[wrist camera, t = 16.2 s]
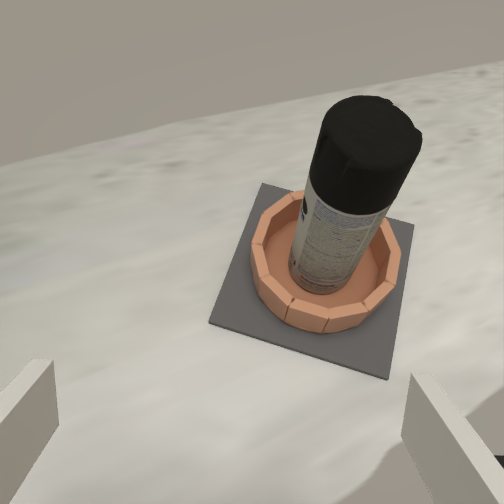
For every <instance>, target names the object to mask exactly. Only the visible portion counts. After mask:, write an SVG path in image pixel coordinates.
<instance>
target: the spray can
mask: <svg viewBox="0 0 504 504" xmlns="http://www.w3.org/2000/svg"><path fill="white" fill-rule="evenodd" d="M421 145H422V133H421V132H420V131H419V130H418V129H416V128H415V127H414V125H413V123H412V121H411V119H410V118H409V117H408V116H407V115H406V114H405V113H404V112H403V111H401V110H400V109H399V108H398V107H396V106H394V105H393V103H392V102H391V101H390V100H388V99H384V98H381V97H379V96H363V95H359V96H352V97H349V98H346V99H343V100H341V101H339V102H337V103H336V104H335V105H333V106H332V107H331V108H330V109H329V110H328V111H327V113H326V115H325V117H324V119H323V121H322V125H321V129H320V133H319V137H318V140H317V144H316V148H315V152H314V155H313V159H312V162H311V166H310V171H309V175H308V179H307V183H306V187H305V191H304V196H303V200H302V204H301V208H300V212H299V217H298V221H297V225H296V229H295V234H294V238H293V242H292V246H291V250H290V255H289V262H288V266H289V270H290V274H291V276H292V278H293V280H294V281H295V282H296V283H297V284H298V285H299V286H300V287H301V288H302V289H304V290H305V291H308V292H310V293H314V294H320V295H323V294H330V293H333V292H336V291H338V290H339V289H341V288H342V287H343V286H345V285H346V284H347V282H348V281H349V279H350V278H351V276H352V274H353V272H354V271H355V269H356V267H357V265H358V264H359V262H360V260H361V258H362V256H363V255H364V253H365V251H366V249H367V247H368V246H369V244H370V242H371V240H372V238H373V237H374V235H375V233H376V231H377V230H378V228H379V226H380V224H381V222H382V221H383V219H384V217H385V215H386V213H387V212H388V210H389V208H390V206H391V205H392V203H393V201H394V200H395V198H396V197H397V194H398V192H399V190H400V188H401V186H402V184H403V182H404V180H405V179H406V177H407V175H408V173H409V171H410V169H411V167H412V165H413V163H414V161H415V160H416V158H417V156H418V154H419V152H420V149H421Z"/></svg>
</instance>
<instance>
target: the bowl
mask: <svg viewBox="0 0 504 504" xmlns="http://www.w3.org/2000/svg"><path fill="white" fill-rule="evenodd" d="M304 191H305V190H303V191H296V192H290V194H289V193H288V194H287V195H285V196H284V197H283V198H281V199H280V200H279V201H277V202H276V203H275V204H273V205H272V206H271V207H269V208H268V209H267V210H265V211H264V212H263V213H262V216H261V218H260V221H259V224H258V226H257V229H256V232H255V234H254V237H253V240H252V242H251V258H250V264H251V268H252V275H253V281H254V284H255V288H256V290H257V293H258V296H259V297H260V298H261V300H262V301H263V303H264V305H265V306H266V307H267V308H268V309H269V310H270V311H271V312H272V313H273V314H274V315H275V316H276V317H277V318H279V319H280V320H281V321H283V322H284V323H286V324H288V325H290V326H292V327H294V328H297V329H299V330H302V331H306V332H310V333H318V334H330V333H338V332H342V331H345V330H348V329H350V328H353V327H356V326H358V325H360V324H361V323H362V322H363V321H364V320H365V319H367V318H368V317H369V316H370V315H371V313H372V312H373V311H374V310H375V309H376V308H377V307H378V306H379V305H380V304H382V302H383V301H384V300H385V299H386V297H387V296H388V295H389V293H390V292H391V291H392V290H393V288H394V287H395V285H396V280H397V275H398V269H399V263H400V258H401V250H400V247H399V245H398V243H397V240H396V238H395V236H394V233H393V231H392V229H391V226H390V224H389V222H388V220H387V219H386V218H385V217H384V219H383V221H382V222H381V224H380V226H379V228H378V230H377V231H376V233H375V235H374V237H373V238H372V240H371V242H370V244H369V246H368V247H367V249H366V251H365V253H364V255H363V256H362V258H361V260H360V262H359V264H358V265H357V267H356V269H355V271H354V272H353V274H352V276H351V278H350V279H349V281H348V282H347V284H346V285H345V286H343V287H342V288H341V289H339V290H338V291H336V292H333V293H330V294H323V295H320V294H314V293H310V292H308V291H305V290H304V289H302V288H301V287H300V286H299V285H298V284H297V283H296V282H295V281H294V280H293V278H292V276H291V274H290V270H289V266H288V262H289V255H290V250H291V246H292V242H293V238H294V234H295V229H296V225H297V221H298V217H299V212H300V208H301V204H302V200H303V196H304ZM386 220H387V221H386Z"/></svg>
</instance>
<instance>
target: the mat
mask: <svg viewBox="0 0 504 504" xmlns="http://www.w3.org/2000/svg"><path fill="white" fill-rule="evenodd" d="M290 192H294V191H290V190H286V189H283V188H279V187H275V186H272V185H268V184H264V183H262V185H261V187H260V190H259V192H258V195H257V197H256V200H255V203H254V205H253V208H252V210H251V213H250V216H249V218H248V221H247V223H246V226H245V228H244V231H243V234H242V236H241V239H240V241H239V244H238V246H237V249H236V252H235V254H234V257H233V259H232V262H231V264H230V267H229V270H228V272H227V275H226V277H225V280H224V283H223V285H222V288H221V290H220V293H219V295H218V298H217V301H216V303H215V306H214V308H213V311H212V313H211V316H210V319H209V323H210V324H213V325H216V326H219V327H222V328H225V329H228V330H231V331H234V332H238V333H241V334H244V335H247V336H250V337H253V338H256V339H259V340H263V341H266V342H269V343H272V344H275V345H278V346H281V347H284V348H287V349H291V350H294V351H297V352H300V353H303V354H306V355H309V356H312V357H316V358H319V359H322V360H325V361H328V362H331V363H334V364H337V365H340V366H344V367H347V368H350V369H353V370H356V371H359V372H362V373H365V374H369V375H372V376H375V377H378V378H381V379H384V380H388V379H389V374H390V368H391V362H392V356H393V350H394V344H395V338H396V332H397V326H398V320H399V314H400V308H401V302H402V296H403V290H404V284H405V278H406V272H407V266H408V260H409V254H410V248H411V242H412V236H413V230H414V224H410V223H407V222H403V221H399V220H396V219H392V218H388V217H385V218H386V219H387V220H388V222H389V224H390V226H391V229H392V231H393V233H394V236H395V238H396V240H397V243H398V245H399V247H400V250H401V258H400V263H399V269H398V275H397V280H396V285H395V287H394V288H393V290H392V291H391V292H390V293H389V295H388V296H387V297H386V299H385V300H384V301H383V302H382V304H380V305H379V306H378V307H377V308H376V309H375V310H374V311H373V312H372V313H371V315H370V316H369V317H368V318H367V319H365V320H364V321H363V322H362V323H361V324H360V325H358V326H356V327H353V328H350V329H348V330H345V331H342V332H338V333H330V334H318V333H310V332H306V331H302V330H299V329H297V328H294V327H292V326H290V325H288V324H286V323H284V322H283V321H281V320H280V319H279V318H277V317H276V316H275V315H274V314H273V313H272V312H271V311H270V310H269V309H268V308H267V307H266V306H265V305H264V303H263V301H262V300H261V298H260V297H259V296H258V293H257V290H256V288H255V284H254V281H253V275H252V268H251V264H250V258H251V242H252V240H253V237H254V234H255V232H256V229H257V226H258V224H259V221H260V218H261V216H262V213H263V212H264V211H265V210H267V209H268V208H269V207H271V206H272V205H273V204H275V203H276V202H277V201H279V200H280V199H281V198H283V197H284V196H285V195H287V194H288V193H289V194H290ZM387 220H386V221H387Z"/></svg>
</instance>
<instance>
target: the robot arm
mask: <svg viewBox="0 0 504 504" xmlns="http://www.w3.org/2000/svg"><path fill="white" fill-rule="evenodd" d="M58 426H59V420H58V408H57V397H56V385H55V373H54V362H53V360H38V359H32V360H31V361H30V362H29V363H28V364H27V365H26V366H25V367H24V368H23V370H22V371H21V372H20V373H19V374H18V375H17V376H16V377H15V378H14V379H13V380H12V381H11V382H10V384H9V385H8V386H7V387H6V388H5V389H4V390H3V391H2V392H1V393H0V504H9V503H10V501H11V500H12V498H13V496H14V495H15V493H16V492H17V490H18V489H19V487H20V485H21V484H22V482H23V481H24V479H25V478H26V476H27V474H28V473H29V471H30V470H31V468H32V467H33V465H34V463H35V462H36V460H37V459H38V457H39V455H40V454H41V452H42V451H43V449H44V448H45V446H46V444H47V443H48V441H49V440H50V438H51V437H52V435H53V433H54V432H55V430H56V429H57V427H58ZM401 437H402V439H403V441H404V443H405V445H406V447H407V449H408V451H409V453H410V455H411V457H412V459H413V461H414V463H415V465H416V467H417V469H418V471H419V473H420V475H421V477H422V479H423V481H424V483H425V485H426V487H427V489H428V491H429V493H430V495H431V497H432V499H433V501H434V503H435V504H504V456H495V455H493V454H492V453H491V452H490V450H489V449H488V448H487V446H486V445H485V444H484V442H483V441H482V440H481V438H480V437H479V436H478V435H477V433H476V432H475V430H474V429H473V428H472V426H471V425H470V424H469V422H468V421H467V420H466V419H465V417H464V416H463V415H462V413H461V412H460V411H459V409H458V408H457V407H456V405H455V404H454V403H453V401H452V400H451V399H450V397H449V396H448V395H447V393H446V392H445V391H444V389H443V388H442V387H441V385H440V384H439V383H438V381H437V380H436V379H435V377H434V376H433V375H432V374H430V373H411V377H410V383H409V389H408V395H407V401H406V407H405V413H404V420H403V426H402V432H401Z"/></svg>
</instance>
